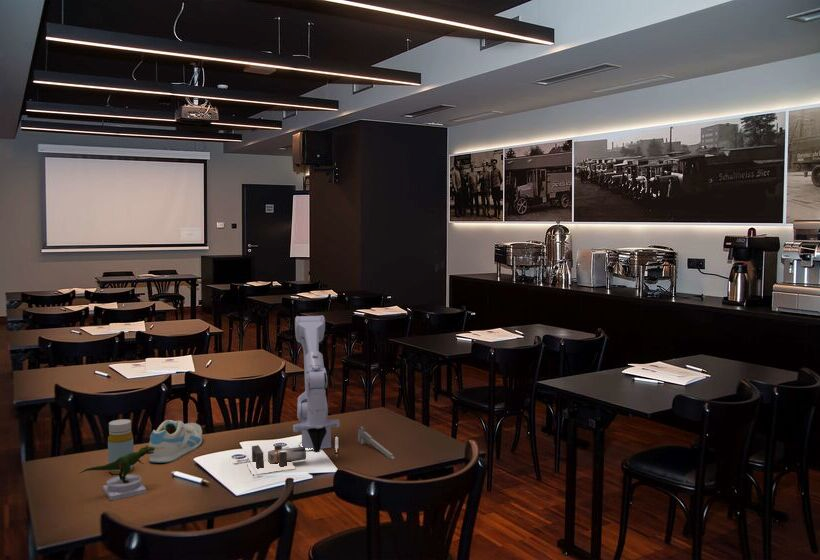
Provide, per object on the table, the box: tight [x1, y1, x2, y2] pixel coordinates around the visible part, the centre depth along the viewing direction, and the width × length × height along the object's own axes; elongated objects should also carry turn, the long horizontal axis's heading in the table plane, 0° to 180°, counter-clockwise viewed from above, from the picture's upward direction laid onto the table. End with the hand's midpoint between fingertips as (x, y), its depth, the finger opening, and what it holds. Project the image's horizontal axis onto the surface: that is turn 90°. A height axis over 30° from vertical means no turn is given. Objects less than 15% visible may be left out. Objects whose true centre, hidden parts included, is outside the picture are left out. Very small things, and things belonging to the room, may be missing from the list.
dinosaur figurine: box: [79, 445, 155, 501], centre depth 187 cm, size 9×20×12 cm, turn 126°
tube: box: [267, 446, 307, 464], centre depth 209 cm, size 11×4×4 cm, turn 114°
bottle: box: [107, 418, 135, 475], centre depth 204 cm, size 7×7×15 cm
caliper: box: [357, 426, 396, 460], centre depth 223 cm, size 20×1×6 cm, turn 37°
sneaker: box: [148, 419, 203, 464], centre depth 222 cm, size 10×27×11 cm, turn 173°
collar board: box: [251, 444, 287, 469], centre depth 207 cm, size 13×9×6 cm
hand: (316, 451), depth 213 cm, fingers closed
